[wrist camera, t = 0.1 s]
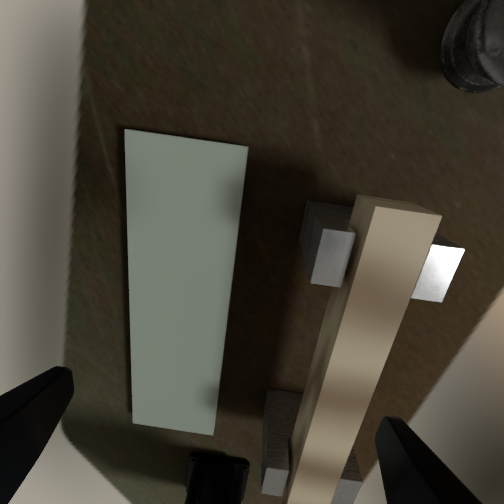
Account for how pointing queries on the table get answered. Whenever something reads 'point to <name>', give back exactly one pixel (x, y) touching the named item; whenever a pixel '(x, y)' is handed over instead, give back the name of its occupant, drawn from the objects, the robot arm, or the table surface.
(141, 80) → the table surface
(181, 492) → the table surface
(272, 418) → the steel stands
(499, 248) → the table surface
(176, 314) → the sage board
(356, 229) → the birch rail
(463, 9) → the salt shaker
